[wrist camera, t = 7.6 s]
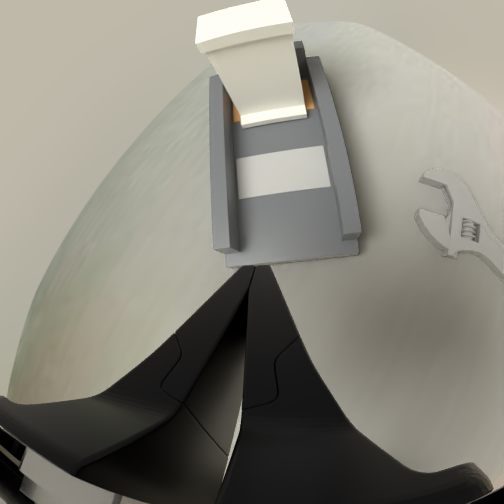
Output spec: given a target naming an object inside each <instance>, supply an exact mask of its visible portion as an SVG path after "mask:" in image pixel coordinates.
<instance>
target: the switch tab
mask: <svg viewBox="0 0 504 504" xmlns="http://www.w3.org/2000/svg"><path fill="white" fill-rule="evenodd" d="M294 33H295V30H294V25H293V21H292V18H291V16H290V13H289V10H288V8H287V5H286V2H285V0H262V1H257V2H252V3H248V4H243V5H238V6H234V7H230V8H226V9H223V10H219V11H216V12H212V13H209V14H205V15H203V16H199V17H198V21H197V31H196V41H195V44H196V46H197V48H198V49H199V51H200V53H201V54H203V53H206V54H207V56H208V58H209V59H210V61H211V63H212V65H213V67H214V68H215V70H216V72H217V74H218V75H219V77H220V79H221V81H222V83H223V85H224V86H225V88H226V90H227V92H228V94H229V96H230V97H231V99H232V101H233V103H234V105H235V107H236V109H237V111H238V112H239V114H240V117H241V126H242V128H243V129H244V128H249V127H254V126H259V125H265V124H270V123H276V122H282V121H289V120H295V119H302V118H307V112H306V108H305V103H304V97H303V91H302V85H301V79H300V73H299V68H298V63H297V57H296V52H295V47H294V42H293V38H292V34H294Z"/></svg>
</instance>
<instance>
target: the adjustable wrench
mask: <svg viewBox="0 0 504 504" xmlns="http://www.w3.org/2000/svg"><path fill="white" fill-rule="evenodd" d="M419 182H421V183H424V184H427V185H430V186H433V187H436V188H439V189H442V191H443V194H444V196H445V199H446V201H447V204H448V212H447V216H446V218H445V217H444V216H443V215H440V214H437V213H434V212H430V211H427V210H424V209H421V208H420V209H419V210H417V211H416V212H415V217H414V218H415V220H416V222H417V225H418V226H419V228H420V230H421V231H422V233H423V234H424V235H425V237H426V238H427V239H428V240H429V241H430V242H431V243H432V244H434V245H435V246H436V247H437V248H439V249H440V250H442V251H443V253H442V257H446V256H448V257H449V258H452V259H457V255H458V252H463V253H471V254H474V255H475V256H477V257H479V258H480V259H481V260H483V261H484V262H485V263H486V264H487V265H488V266H489V267H490V268H491V270H492V271H493V272H494V273H495V274H496V275H497V276H498V277H499V278H500V279H501V280H502V282H503V283H504V244H503V243H502V242H501V241H500V240H499V239H498V238H497V237H496V236H495V234H494V233H493V231H492V230H491V228H490V227H489V225H488V223H487V221H486V220H485V218H484V216H483V214H482V213H481V211H480V209H479V207H478V205H477V203H476V201H475V199H474V197H473V195H472V193H471V191H470V189H469V187H468V186H467V184H466V183H465V182H464V181H463V179H462V178H461V177H459V176H458V175H457V174H456V173H454V172H452V171H450V170H448V169H443V168H432V169H430V170H427V171H425V173H424V174H423V175H422V176H421V178H420V179H419ZM473 235H474V236H473ZM473 239H474V241H472V240H473Z"/></svg>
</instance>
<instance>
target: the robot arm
mask: <svg viewBox="0 0 504 504" xmlns="http://www.w3.org/2000/svg"><path fill="white" fill-rule="evenodd" d="M242 397H243V398H242ZM241 401H242V417H241V425H240V431H239V435H238V438H237V441H236V444H235V447H234V450H233V453H232V456H231V459H230V462H229V465H228V467H227V470H226V473H225V476H224V472H225V468H226V464H227V460H228V456H229V452H230V448H231V444H232V439H233V435H234V431H235V427H236V423H237V418H238V414H239V410H240V406H241ZM0 426H2V427H3V428H4V429H5V430H6V431H7V432H6V431H5V430H3V429H2V428H1V427H0V504H504V486H503V487H501V488H499V489H497V490H495V491H493V492H492V490H493V486H492V484H491V481H490V480H489V478H488V477H487V476H486V475H485V474H484V473H483V471H482V470H480V469H479V468H478V467H477V466H476V465H475V464H474V463H471V462H470V463H465V464H461V465H458V466H455V467H451V468H448V469H445V470H442V471H438V472H433V473H422V472H417V471H414V470H411V469H409V468H407V467H406V466H404V465H403V464H401V463H400V462H399V461H397V460H396V459H394V458H393V457H392V456H390V455H389V454H388V453H386V452H385V451H384V450H382V449H381V448H380V447H379V446H377V445H376V444H375V443H373V442H372V441H371V440H369V439H368V438H367V437H366V436H364V435H363V434H362V433H361V432H359V431H358V430H357V429H356V428H355V427H354V426H353V424H352V423H351V422H350V421H349V419H348V418H347V417H346V415H345V414H344V413H343V411H342V410H341V408H340V406H339V405H338V403H337V402H336V400H335V399H334V397H333V395H332V394H331V392H330V391H329V389H328V388H327V386H326V385H325V383H324V381H323V380H322V378H321V377H320V375H319V373H318V371H317V370H316V368H315V366H314V364H313V363H312V361H311V359H310V357H309V355H308V352H307V350H306V348H305V346H304V344H303V341H302V339H301V338H300V334H299V332H298V330H297V327H296V325H295V323H294V320H293V318H292V316H291V313H290V311H289V309H288V306H287V304H286V302H285V299H284V297H283V295H282V292H281V290H280V288H279V285H278V283H277V281H276V278H275V276H274V274H273V271H272V269H271V267H270V265H257V266H255V265H243V266H242V267H240V268H239V269H238V270H237V271H236V272H235V273H234V274H233V275H232V276H231V277H230V278H229V279H228V280H227V281H226V282H225V283H224V284H223V285H222V286H221V287H220V288H219V289H218V290H217V291H216V292H215V293H214V294H213V295H212V296H211V297H210V298H209V299H208V300H207V301H206V302H205V303H204V304H203V305H202V306H201V307H200V308H199V309H198V310H197V311H196V312H195V313H194V314H193V315H192V316H191V317H190V318H189V319H188V320H187V321H186V322H185V323H184V324H183V325H182V326H181V327H180V328H179V329H178V330H177V331H176V332H175V333H174V334H172V335H171V336H170V337H169V338H168V339H167V340H166V341H165V342H164V343H163V344H162V345H161V346H160V347H159V348H158V349H157V350H155V351H154V352H153V353H152V354H151V355H150V356H148V357H147V358H146V359H145V360H144V361H142V362H141V363H140V364H139V365H138V366H136V367H135V368H134V369H133V370H131V371H130V372H129V373H127V374H126V375H125V376H124V377H122V378H121V379H120V380H119V381H117V382H116V383H115V384H113V385H112V386H111V387H110V388H108V389H107V390H105V391H103V392H102V393H100V394H98V395H95V396H92V397H89V398H83V399H76V400H69V401H61V402H52V403H43V404H30V405H24V404H17V403H14V402H11V401H10V400H9V399H7V398H6V397H4V396H0ZM8 432H9V433H10V434H11V435H10V434H9V433H8ZM14 437H15V438H14ZM223 476H224V479H223ZM222 480H223V482H222ZM221 484H222V485H221ZM490 492H491V493H490ZM488 493H489V494H488Z"/></svg>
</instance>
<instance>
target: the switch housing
mask: <svg viewBox="0 0 504 504" xmlns="http://www.w3.org/2000/svg"><path fill="white" fill-rule="evenodd" d="M294 47H295V52H296V57H297V63H298V68H299V73H300V79H301V85H302V91H303V97H304V103H305V108H306V112H307V118H302V119H295V120H289V121H282V122H276V123H270V124H265V125H259V126H254V127H249V128H244V129H243V128H242V126H241V117H240V114H239V112H238V111H237V109H236V107H235V105H234V103H233V101H232V99H231V97H230V96H229V94H228V92H227V90H226V88H225V86H224V85H223V83H222V81H221V79H220V77H219V75H215V76H211V77H210V88H209V125H210V180H211V210H212V233H213V249H214V250H216V251H219V252H221V253H224V254H225V256H226V267H228V268H240V267H242V266H243V265H255V266H257V265H271V264H281V263H290V262H300V261H309V260H318V259H327V258H336V257H344V256H353V255H357V254H358V253H359V247H358V240H357V239H358V237H359V236H360V234H361V232H362V230H361V223H360V217H359V211H358V205H357V200H356V194H355V189H354V184H353V179H352V174H351V169H350V164H349V160H348V156H347V151H346V147H345V143H344V139H343V135H342V131H341V127H340V123H339V119H338V116H337V112H336V109H335V105H334V102H333V98H332V95H331V92H330V88H329V85H328V82H327V79H326V76H325V73H324V70H323V67H322V64H321V61H320V58H319V56H315V57H306V56H305V50H304V46H303V43H302V41H297V42H294Z"/></svg>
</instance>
